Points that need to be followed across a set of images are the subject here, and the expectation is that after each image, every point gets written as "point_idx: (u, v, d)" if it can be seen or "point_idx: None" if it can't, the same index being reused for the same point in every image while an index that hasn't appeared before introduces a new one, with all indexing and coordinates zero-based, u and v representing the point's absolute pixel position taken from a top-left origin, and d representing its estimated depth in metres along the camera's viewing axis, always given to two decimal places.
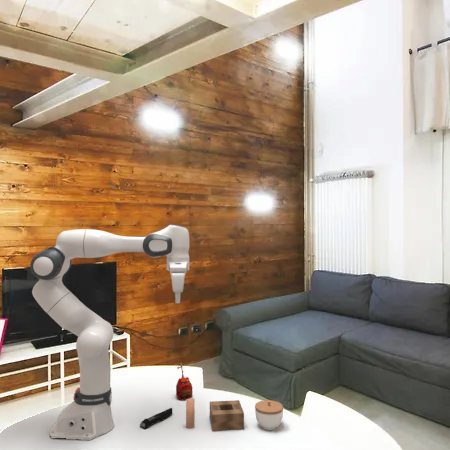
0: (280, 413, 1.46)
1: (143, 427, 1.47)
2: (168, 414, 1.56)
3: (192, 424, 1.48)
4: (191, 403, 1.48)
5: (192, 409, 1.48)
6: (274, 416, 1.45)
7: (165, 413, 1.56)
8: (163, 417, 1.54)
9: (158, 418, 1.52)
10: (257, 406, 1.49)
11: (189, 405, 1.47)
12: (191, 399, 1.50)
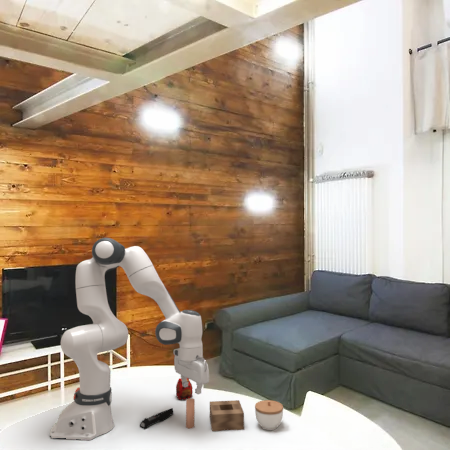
0: (280, 413, 1.46)
1: (143, 427, 1.47)
2: (169, 414, 1.56)
3: (192, 424, 1.48)
4: (191, 403, 1.48)
5: (192, 409, 1.48)
6: (274, 416, 1.45)
7: (165, 413, 1.55)
8: (163, 417, 1.54)
9: (158, 418, 1.52)
10: (257, 406, 1.49)
11: (189, 405, 1.47)
12: (191, 399, 1.50)
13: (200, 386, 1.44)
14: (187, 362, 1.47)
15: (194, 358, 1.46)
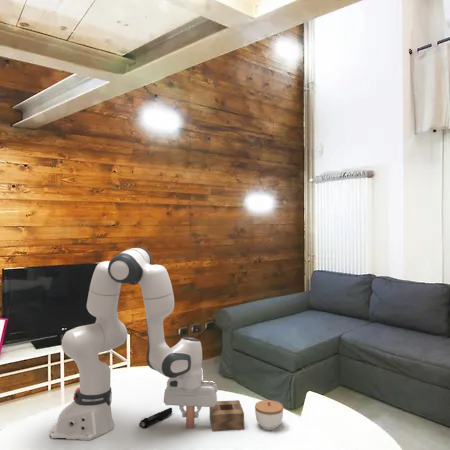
0: (280, 413, 1.46)
1: (142, 426, 1.47)
2: (168, 414, 1.57)
3: (192, 424, 1.48)
4: None
5: (192, 409, 1.48)
6: (274, 416, 1.45)
7: (165, 413, 1.56)
8: (163, 417, 1.54)
9: (158, 417, 1.52)
10: (257, 406, 1.49)
11: None
12: None
13: None
14: (193, 389, 1.46)
15: (201, 384, 1.48)
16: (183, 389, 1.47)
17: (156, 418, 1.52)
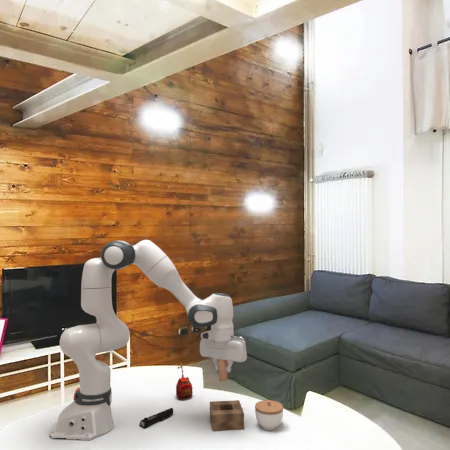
0: (280, 413, 1.46)
1: (142, 426, 1.48)
2: (168, 414, 1.56)
3: (223, 377, 1.51)
4: None
5: (223, 363, 1.51)
6: (274, 416, 1.45)
7: (165, 413, 1.56)
8: (163, 417, 1.54)
9: (158, 417, 1.52)
10: (257, 406, 1.49)
11: None
12: None
13: (231, 364, 1.51)
14: (222, 343, 1.50)
15: (229, 338, 1.50)
16: (214, 342, 1.53)
17: (156, 418, 1.52)
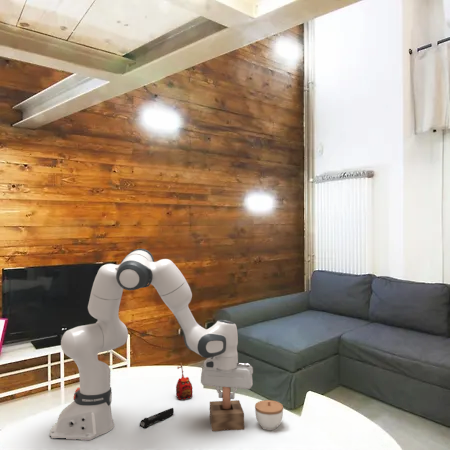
0: (280, 413, 1.46)
1: (142, 426, 1.48)
2: (169, 414, 1.56)
3: (228, 405, 1.50)
4: None
5: (228, 390, 1.51)
6: (274, 416, 1.45)
7: (166, 413, 1.56)
8: (163, 417, 1.54)
9: (158, 418, 1.52)
10: (257, 406, 1.49)
11: None
12: None
13: (236, 390, 1.51)
14: (229, 371, 1.49)
15: (236, 365, 1.50)
16: (219, 370, 1.51)
17: (156, 418, 1.52)
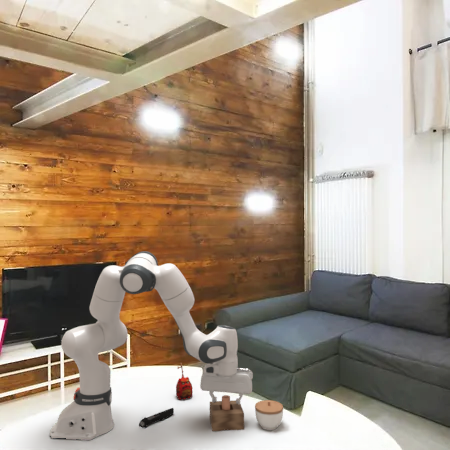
0: (280, 413, 1.46)
1: (142, 426, 1.48)
2: (169, 414, 1.56)
3: None
4: (227, 400, 1.51)
5: (228, 406, 1.51)
6: (274, 416, 1.45)
7: (166, 413, 1.56)
8: (163, 417, 1.54)
9: (158, 417, 1.52)
10: (257, 406, 1.49)
11: (225, 401, 1.51)
12: (226, 396, 1.53)
13: None
14: (229, 376, 1.50)
15: (236, 371, 1.51)
16: (219, 375, 1.51)
17: (156, 418, 1.52)
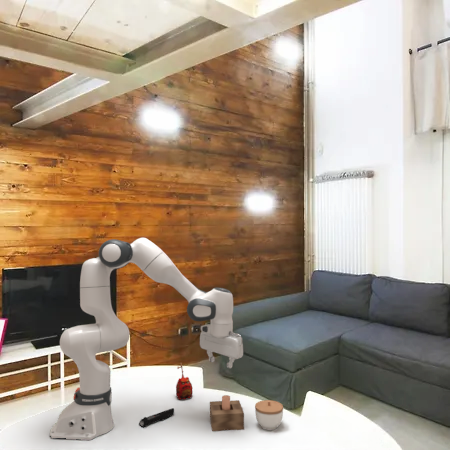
0: (280, 413, 1.46)
1: (141, 425, 1.48)
2: (169, 414, 1.56)
3: None
4: (227, 400, 1.51)
5: (228, 406, 1.51)
6: (274, 416, 1.45)
7: (166, 413, 1.56)
8: (163, 417, 1.54)
9: (158, 417, 1.52)
10: (257, 406, 1.49)
11: (225, 401, 1.51)
12: (227, 396, 1.53)
13: (232, 360, 1.50)
14: (219, 338, 1.51)
15: (227, 334, 1.50)
16: (213, 336, 1.54)
17: (156, 418, 1.52)
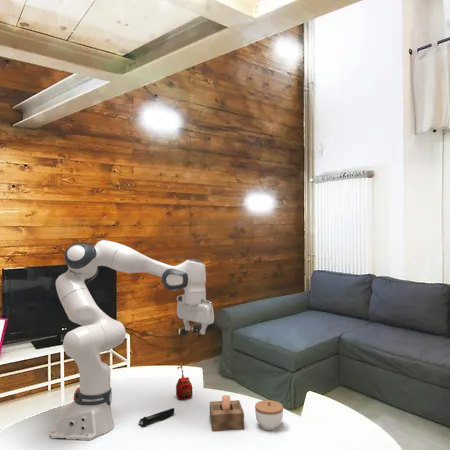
0: (280, 413, 1.46)
1: (141, 425, 1.49)
2: (169, 414, 1.56)
3: None
4: (227, 400, 1.51)
5: (228, 406, 1.51)
6: (274, 416, 1.45)
7: (166, 413, 1.56)
8: (163, 417, 1.54)
9: (157, 417, 1.53)
10: (257, 406, 1.49)
11: (225, 401, 1.51)
12: (227, 396, 1.53)
13: (205, 327, 1.57)
14: (192, 306, 1.59)
15: (199, 301, 1.58)
16: (187, 305, 1.62)
17: (156, 418, 1.52)
